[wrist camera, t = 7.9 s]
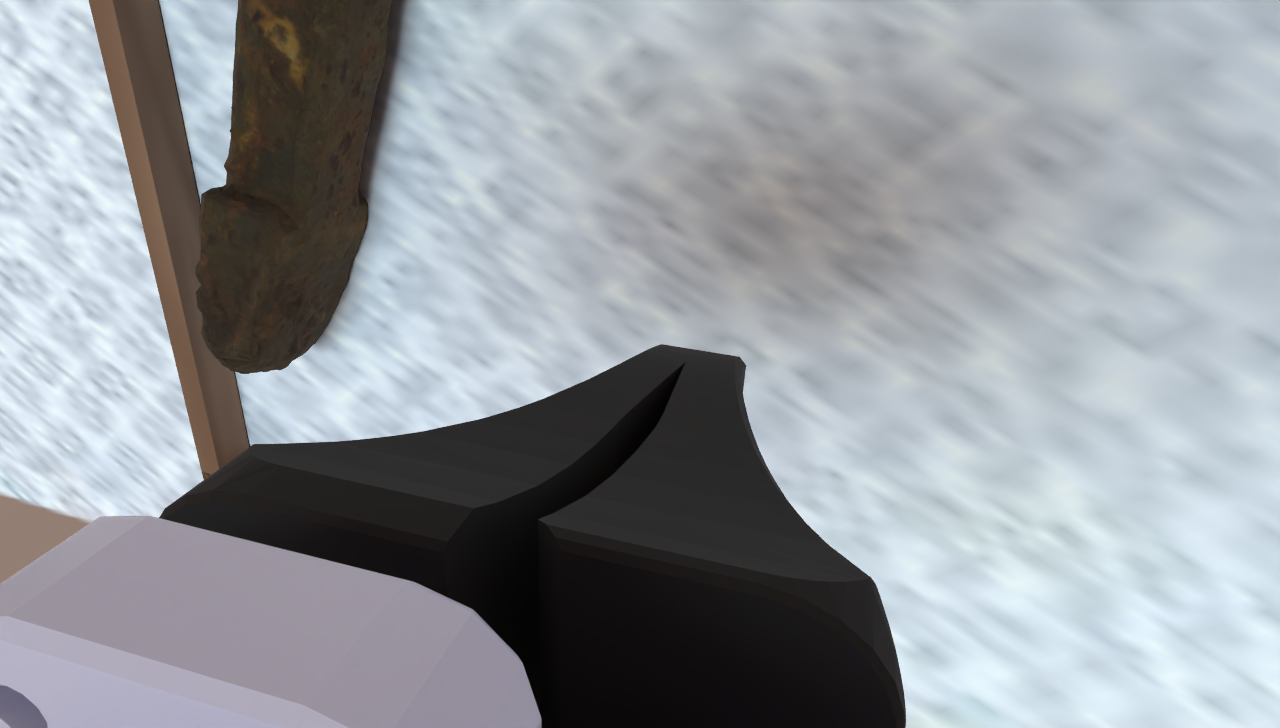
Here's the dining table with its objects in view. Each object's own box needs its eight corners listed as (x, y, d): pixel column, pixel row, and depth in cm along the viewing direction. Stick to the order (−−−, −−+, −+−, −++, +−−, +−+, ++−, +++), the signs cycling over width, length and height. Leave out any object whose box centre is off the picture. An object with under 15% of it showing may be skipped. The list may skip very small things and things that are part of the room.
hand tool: (345, -420, 17) (174, -547, 13) (505, -351, 17) (381, -459, 13) (249, 303, 27) (132, 358, 22) (351, 356, 26) (251, 423, 22)
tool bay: (411, -566, 16) (367, -617, 14) (474, 522, 27) (454, 548, 26) (23, -520, 18) (-45, -559, 16) (236, 467, 30) (206, 490, 28)
